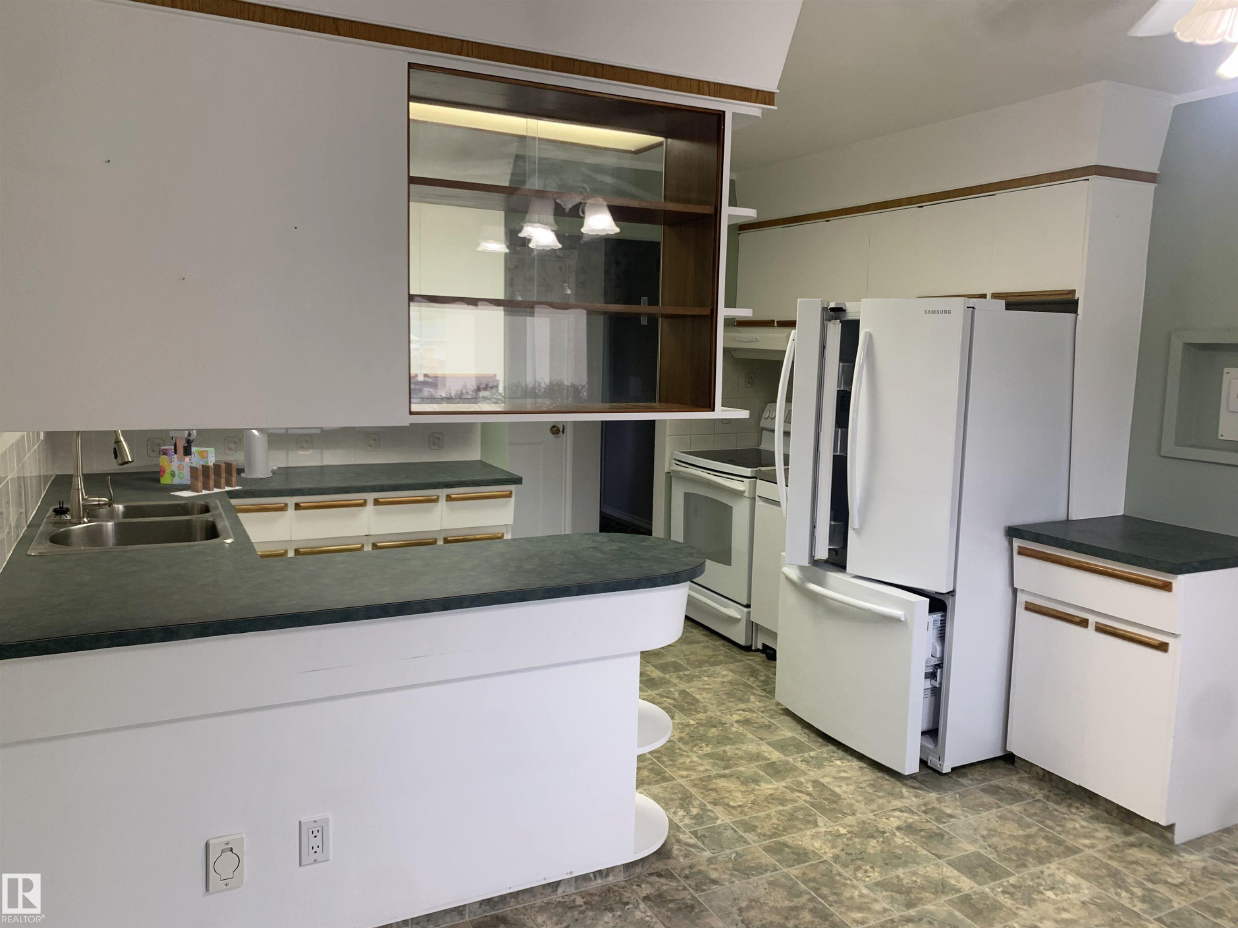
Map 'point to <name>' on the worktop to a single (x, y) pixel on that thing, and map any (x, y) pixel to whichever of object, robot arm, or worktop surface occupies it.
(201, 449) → the snack box
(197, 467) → the domino
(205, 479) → the domino
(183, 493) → the domino mat
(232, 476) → the domino
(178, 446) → the domino
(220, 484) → the domino
